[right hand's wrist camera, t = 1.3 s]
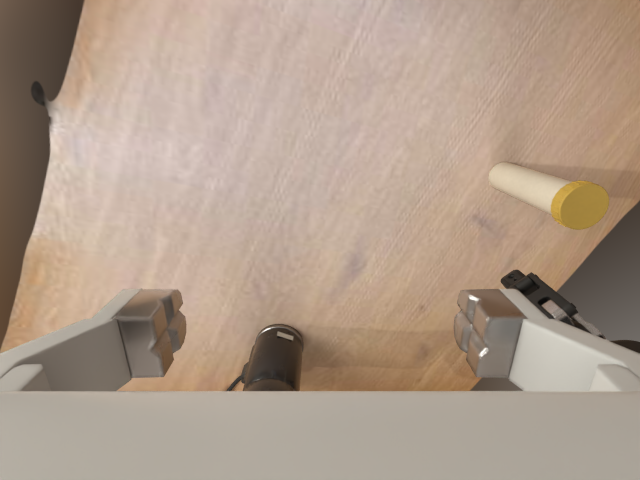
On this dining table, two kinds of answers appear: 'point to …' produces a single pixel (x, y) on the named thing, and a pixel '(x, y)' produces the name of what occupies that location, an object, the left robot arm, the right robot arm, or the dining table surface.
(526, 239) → the dining table surface
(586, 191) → the lid
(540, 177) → the bottle
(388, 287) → the dining table surface
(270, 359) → the left robot arm
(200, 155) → the dining table surface
